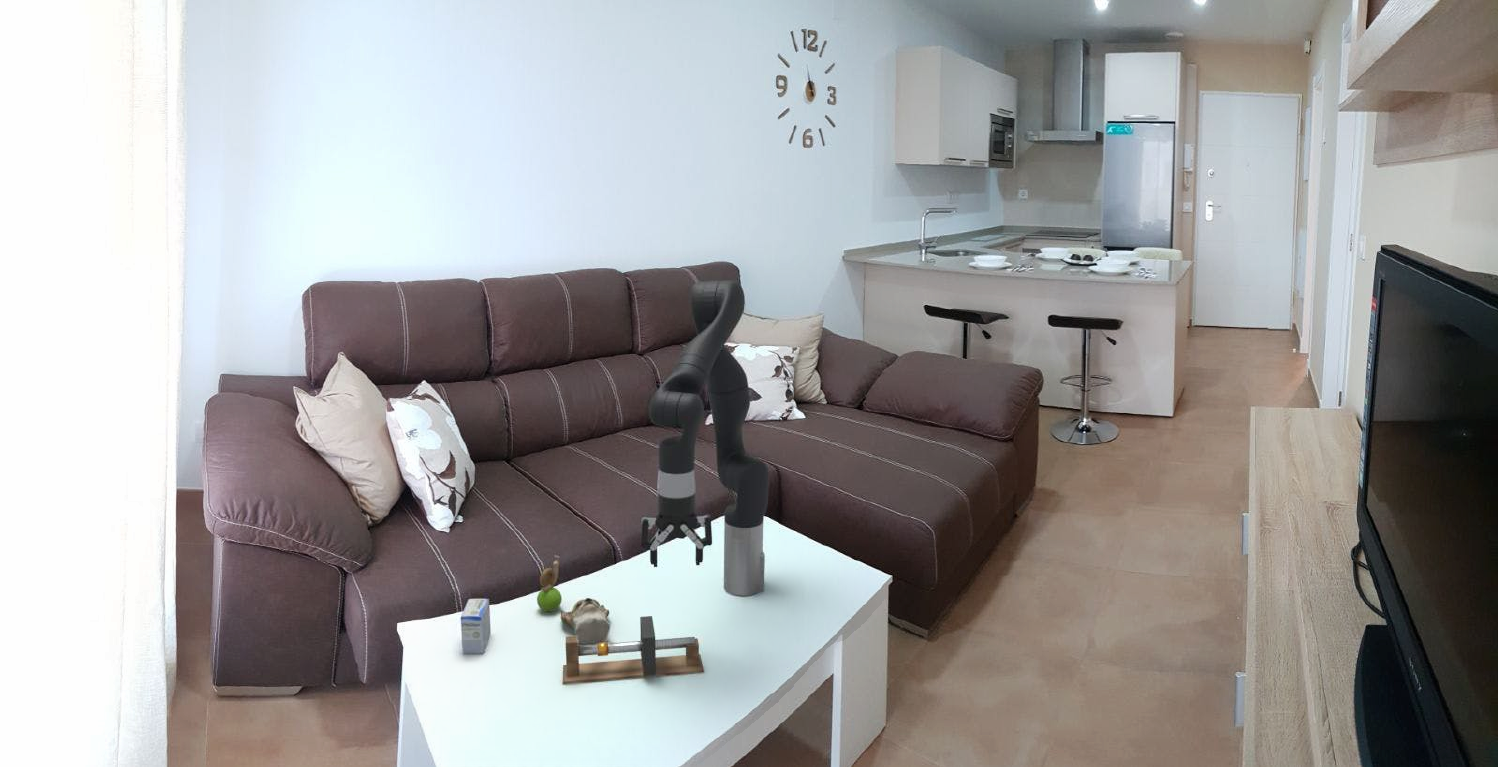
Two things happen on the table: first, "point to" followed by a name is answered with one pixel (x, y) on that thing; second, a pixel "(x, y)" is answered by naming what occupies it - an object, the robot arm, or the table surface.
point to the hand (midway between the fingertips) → (676, 564)
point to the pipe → (632, 646)
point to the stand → (626, 665)
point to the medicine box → (475, 626)
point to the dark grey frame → (648, 646)
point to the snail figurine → (549, 589)
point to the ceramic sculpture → (588, 621)
